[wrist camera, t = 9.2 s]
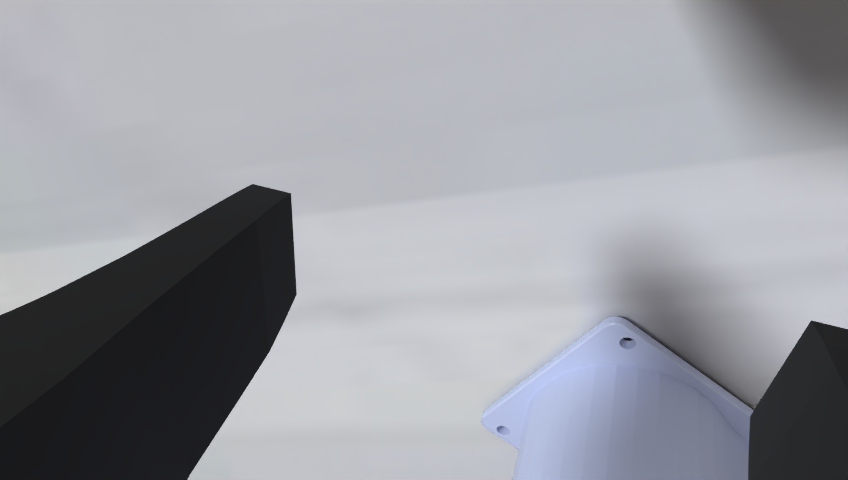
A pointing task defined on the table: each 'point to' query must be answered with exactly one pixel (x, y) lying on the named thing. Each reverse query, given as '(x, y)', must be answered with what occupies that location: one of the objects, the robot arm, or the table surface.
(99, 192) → the table surface
